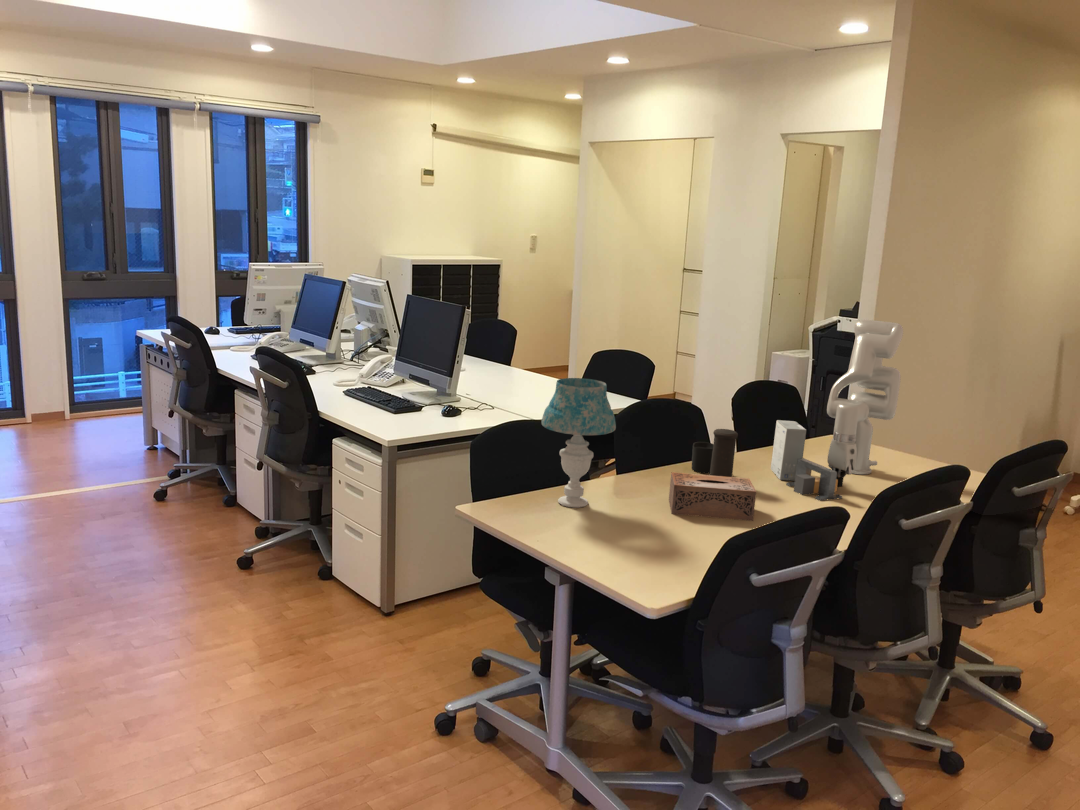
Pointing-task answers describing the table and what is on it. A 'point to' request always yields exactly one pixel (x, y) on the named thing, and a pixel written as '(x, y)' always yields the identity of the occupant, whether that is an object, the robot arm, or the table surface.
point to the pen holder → (702, 457)
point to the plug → (807, 484)
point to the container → (723, 452)
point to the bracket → (826, 478)
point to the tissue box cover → (712, 496)
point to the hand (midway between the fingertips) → (837, 486)
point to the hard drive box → (787, 449)
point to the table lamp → (578, 428)
